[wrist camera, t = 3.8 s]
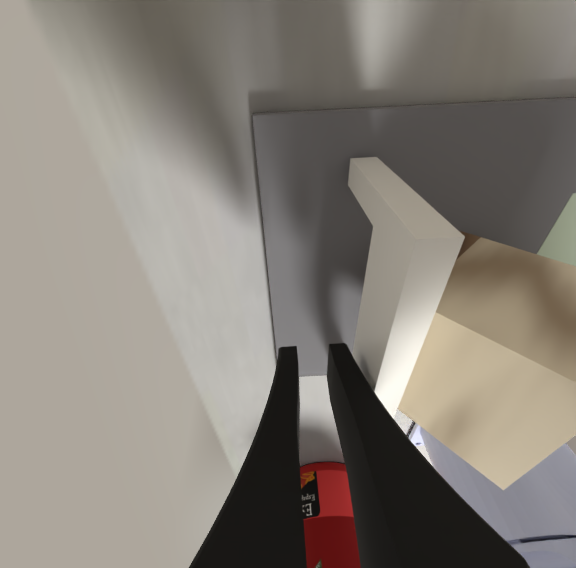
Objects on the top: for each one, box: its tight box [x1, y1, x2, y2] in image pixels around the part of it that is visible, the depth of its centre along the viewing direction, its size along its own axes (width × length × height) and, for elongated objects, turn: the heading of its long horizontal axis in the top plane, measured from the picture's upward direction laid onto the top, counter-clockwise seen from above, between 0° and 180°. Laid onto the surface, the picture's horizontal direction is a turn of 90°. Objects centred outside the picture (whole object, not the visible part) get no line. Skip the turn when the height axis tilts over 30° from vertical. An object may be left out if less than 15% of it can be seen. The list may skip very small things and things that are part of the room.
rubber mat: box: [252, 97, 576, 377], centre depth 15 cm, size 26×16×1 cm, turn 92°
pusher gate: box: [348, 157, 465, 419], centre depth 12 cm, size 1×13×6 cm, turn 2°
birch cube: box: [398, 230, 576, 490], centre depth 12 cm, size 6×6×6 cm
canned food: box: [300, 462, 361, 568], centre depth 29 cm, size 8×8×11 cm
